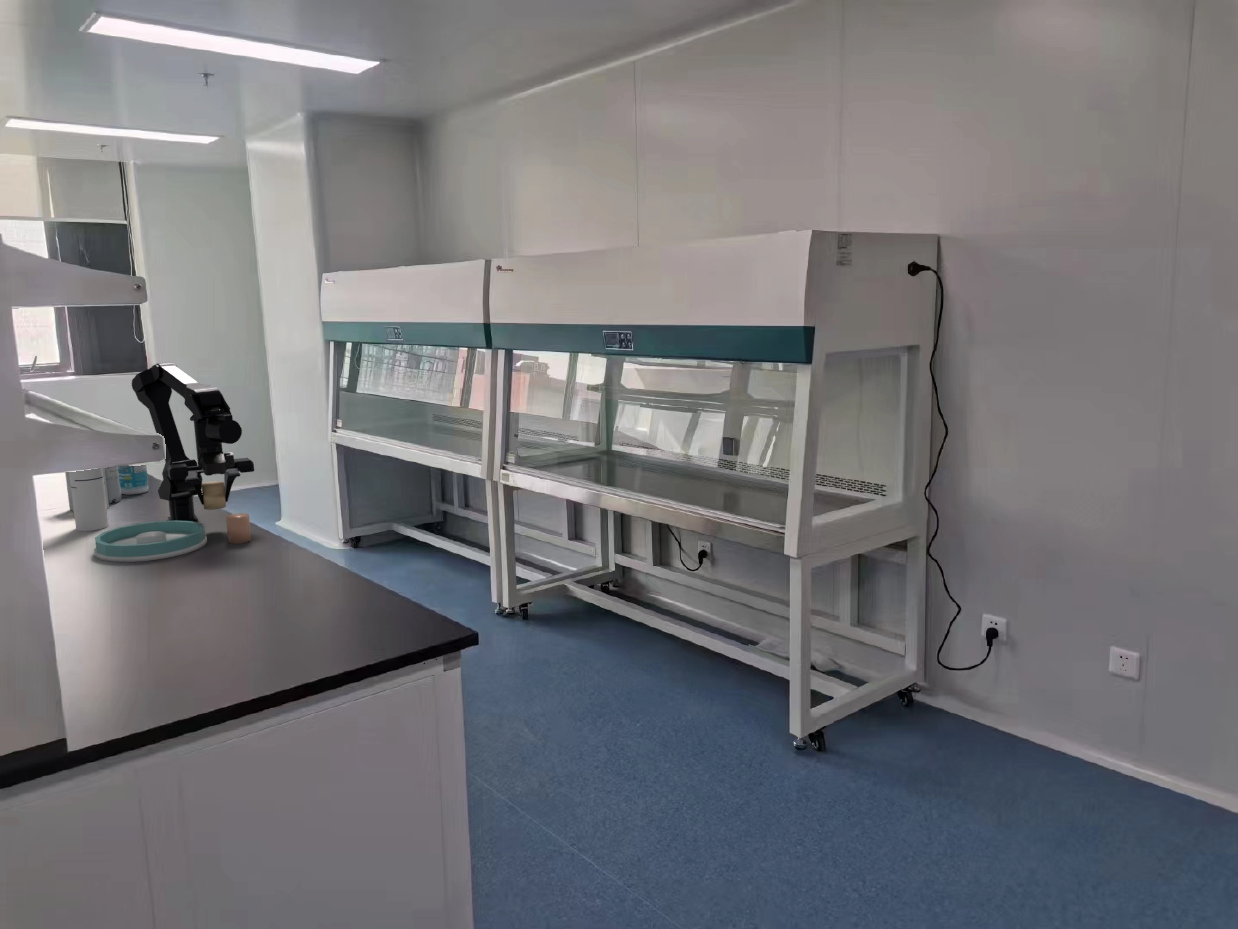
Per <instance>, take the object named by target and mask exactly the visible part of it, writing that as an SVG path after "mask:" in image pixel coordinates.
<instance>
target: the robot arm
mask: <svg viewBox="0 0 1238 929" xmlns="http://www.w3.org/2000/svg"><path fill="white" fill-rule="evenodd" d="M131 389H132V390H133V392H134V393H135V395H136V398H137V400H138V401H139V402H140V403H141V404H142V405H143V406H145V407H146V408H147V409H148V412H149V415H150V418H151V420H152V424H153V427H154V430H155V433H159V434H161V435H162V436H164V438H165V444H166V459H165V458H164V462H165V463H164V465H163V469H162V472H161V474H162V481H161V483H160V485H159V487H158V490H157V493H158V496H159V499H160V500H164V501H168V509H169V516H168V517H167V521H175V520H177V521H192V522H197V521H199V518H198V516H197V515H196V513H195V505H194V504H195V503H194V496H197V497H198V500H199V502H200V504H201V505H202V506H204V499H203V494H202V485H201V484H203V475H205V476H206V477H208V476H212V475H223V476H224V477H223V478H224V480H223V482H224V489H225V499H226V503H227V502H228V501H229V498H230V494H231V489H232V486H233V485H234V482H235V480H236V479H237V477H241V474H243V473H244V474H245V473H253V472H255V464H254V462H253V461H252V459H250V458H249V457H242V458H235V457H234V452H232V451H231V452H224V451H223V444H227V445H230V444H231V445H232V444H235V443H237V442H238V441H240V439H241V438H242V433H243V430H242V427H241V425H240V423H239V422H238V421H237V420H234V419H233V415H232V412H231V407H230V406H229V404H228V403H227V401H226V399H225V398H224V395H223V394H222V392H221V390H219V389H218V387H216V386H213V385H210V384H205V383H200V382H198V381H197V380H195V379H194V378H192V377H191V376H190V375H188V374H187V373H185V371H183V370H182V369H180V368H179V367H178V365H177V364H176V363H173V362H162V363H161V362H159V363H155V364H153V365H152V366H150V367H149V368H147V369H145V370H143V371H141V372H139V373H136V374H135V376H134V377H133V378H132V380H131ZM173 391H174V392H176V393H177V394H178V395H180V396H181V397H182V398H183V399H184V403H183V404H184V405H185V407H186V408H187V409H188V411H190V412H191V414H192V415H191V416H190V418H189V421H191V422H193V425H194V426H193V428H194V438H195V446H196V447H195V448H196V456H197V458H196V459H197V460H195V459H190V458H189V457H188V456H187V455H186V452H185V450H184V445H183V443H182V440H181V437H180V433H179V431H178V427H177V425H176V421H175V419H174V415H173V411H172V409H171V406H170V401H171V396H172V393H173ZM222 443H223V444H222ZM202 474H203V475H202Z"/></svg>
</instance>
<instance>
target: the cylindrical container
mask: <svg viewBox="0 0 1238 929" xmlns="http://www.w3.org/2000/svg"><path fill="white" fill-rule="evenodd" d="M69 476H70V484H71V492H72V500H73V508H74V511H73V514H74V521H75V522H74V524H75V530H76V531H80V532H90V531H99V530H102V529H105V528H108V527H109V525H110V522H109V515H108V509H107V505H106V496H105V488H104V479H103V470H102V468H98V469H91V470H84V471H76V472H69Z"/></svg>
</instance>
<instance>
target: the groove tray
mask: <svg viewBox="0 0 1238 929" xmlns="http://www.w3.org/2000/svg"><path fill="white" fill-rule="evenodd" d="M205 533H206V532H205V526H204V525H203V524H202V523H200V522H197V521H177V520H175V521H168V520H158V521H150V522H141V523H140V522H139V523H135V524H129V525H123V526H118V527H116V528H112V529H110V530H109V529H108V530H106V531H104V532H101V533H99V534H98V535H97V536H96V537H94V541H95V548H94V550H93V552H94V557H95V558H96V559H98V560H101V561H105V562H111V563H113V562H115V563H134V562H136V563H137V562H146V561H148V562H149V561H150V562H151V561H154V560H155V561H156V560H162V559H167V558H172V557H177V556H181V555H186V554H189V553H192V552H195V551H197V550H199V549H201V548H203V547H204V546H206V544H207V543H208V539H207V538H208V537H207V535H206V534H205Z"/></svg>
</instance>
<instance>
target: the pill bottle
mask: <svg viewBox="0 0 1238 929" xmlns="http://www.w3.org/2000/svg"><path fill="white" fill-rule="evenodd" d="M117 467H118V476H119V483H120V488H121V495H130V496H132V495H140V494H144V493H147V492H148V491H149V487H150V486H149V478H148V477H149V476H148V471H147V470H148V468H147V464H146V465H141V466H117Z"/></svg>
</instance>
